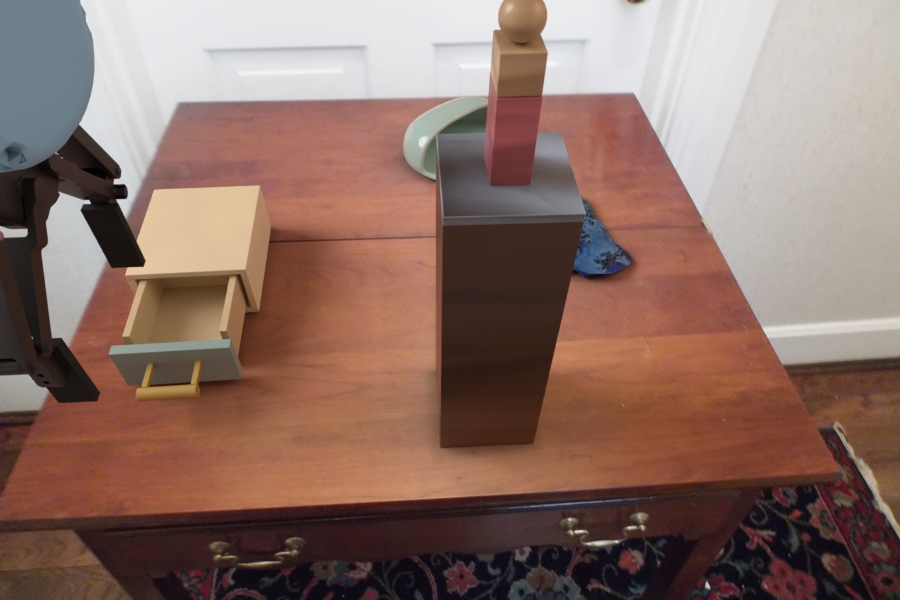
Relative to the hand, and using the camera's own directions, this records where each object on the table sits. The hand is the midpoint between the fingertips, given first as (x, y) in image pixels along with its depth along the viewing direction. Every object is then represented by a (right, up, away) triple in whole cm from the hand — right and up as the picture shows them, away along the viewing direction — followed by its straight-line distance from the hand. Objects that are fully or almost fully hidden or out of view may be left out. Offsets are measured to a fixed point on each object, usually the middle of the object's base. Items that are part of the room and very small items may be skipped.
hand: (106, 325), depth 51 cm
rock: (+44, +10, +39) cm, 59 cm away
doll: (+32, +12, -3) cm, 34 cm away
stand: (+31, -10, +20) cm, 38 cm away
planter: (+29, +26, +53) cm, 65 cm away
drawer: (-3, -3, +24) cm, 24 cm away
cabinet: (-4, +6, +34) cm, 34 cm away
